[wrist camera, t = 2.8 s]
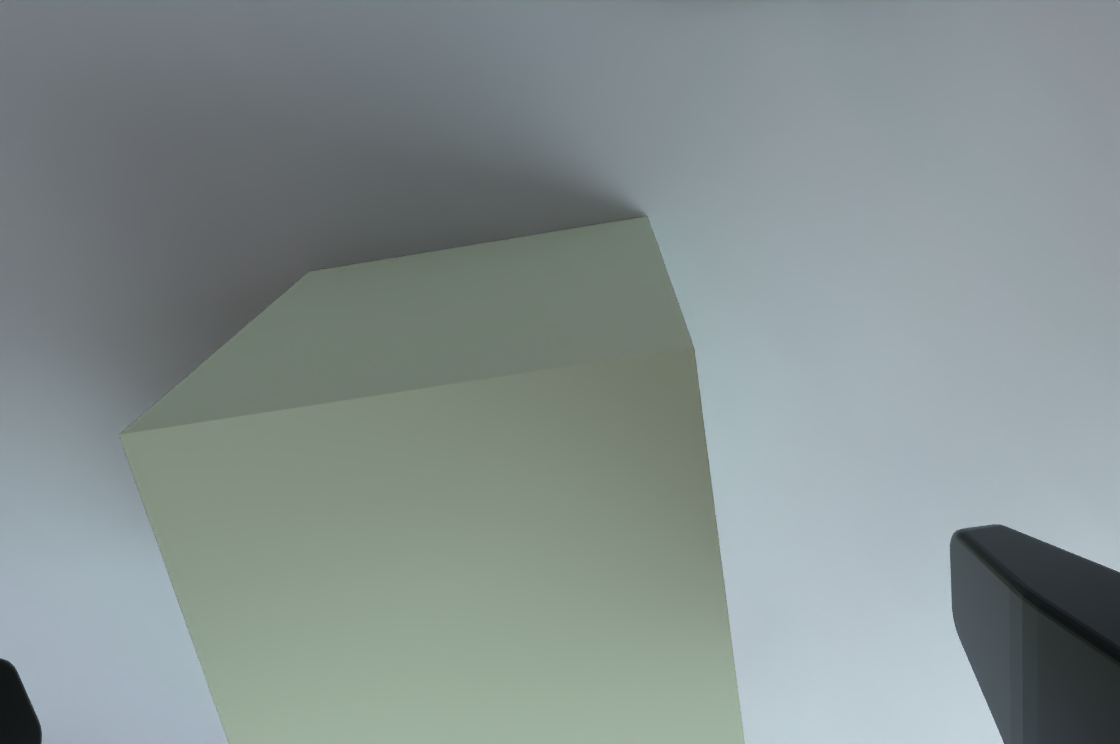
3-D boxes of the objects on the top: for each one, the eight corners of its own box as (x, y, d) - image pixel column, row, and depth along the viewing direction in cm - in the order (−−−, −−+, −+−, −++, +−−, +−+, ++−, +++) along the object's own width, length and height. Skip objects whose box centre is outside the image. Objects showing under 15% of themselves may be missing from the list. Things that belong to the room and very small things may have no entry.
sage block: (647, 215, 13) (694, 346, 8) (690, 522, 15) (753, 815, 9) (309, 270, 14) (119, 434, 8) (387, 563, 15) (273, 869, 10)
